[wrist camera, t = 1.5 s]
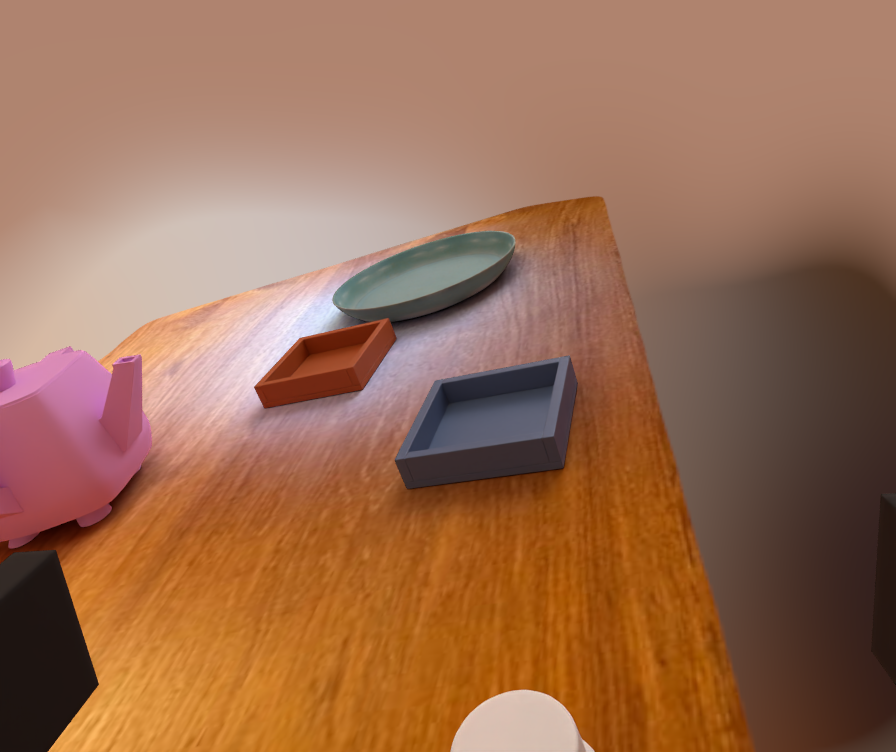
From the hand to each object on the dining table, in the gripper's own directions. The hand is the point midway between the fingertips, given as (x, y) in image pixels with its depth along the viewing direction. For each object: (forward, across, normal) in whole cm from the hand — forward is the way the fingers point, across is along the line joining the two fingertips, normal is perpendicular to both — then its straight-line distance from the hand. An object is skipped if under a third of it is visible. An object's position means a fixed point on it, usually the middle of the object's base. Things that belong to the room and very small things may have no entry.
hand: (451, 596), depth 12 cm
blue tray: (+41, -2, -14) cm, 44 cm away
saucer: (+81, -10, -10) cm, 83 cm away
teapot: (+49, -42, -21) cm, 68 cm away
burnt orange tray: (+63, -20, -14) cm, 68 cm away
